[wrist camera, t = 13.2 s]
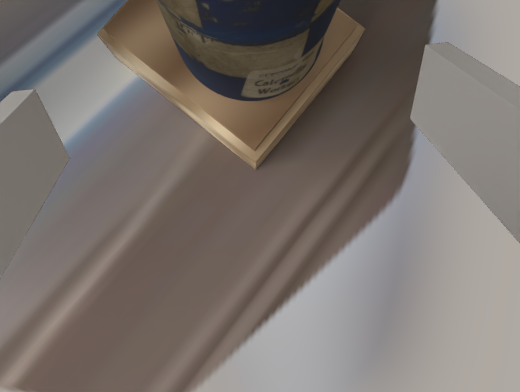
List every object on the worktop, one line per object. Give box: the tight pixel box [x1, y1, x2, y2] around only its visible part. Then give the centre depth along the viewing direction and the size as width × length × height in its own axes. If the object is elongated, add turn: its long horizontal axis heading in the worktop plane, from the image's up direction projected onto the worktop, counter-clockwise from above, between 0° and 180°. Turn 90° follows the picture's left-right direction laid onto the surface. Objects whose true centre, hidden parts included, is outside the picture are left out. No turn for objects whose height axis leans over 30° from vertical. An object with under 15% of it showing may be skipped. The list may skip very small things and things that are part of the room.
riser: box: [97, 0, 365, 170], centre depth 26 cm, size 14×12×4 cm
